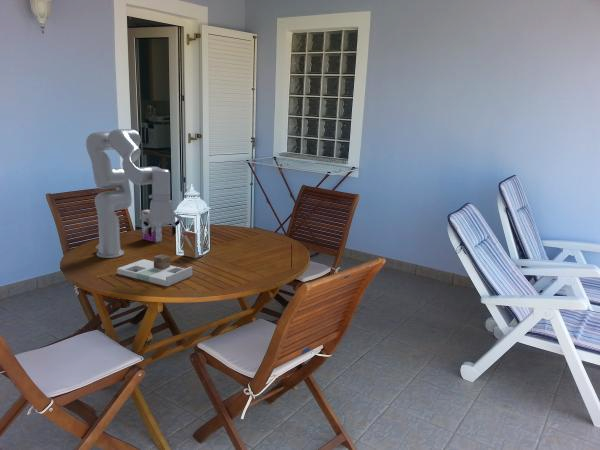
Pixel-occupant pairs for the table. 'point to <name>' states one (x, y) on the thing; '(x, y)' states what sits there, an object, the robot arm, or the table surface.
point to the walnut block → (161, 261)
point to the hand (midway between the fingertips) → (162, 235)
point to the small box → (191, 244)
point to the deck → (155, 272)
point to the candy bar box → (155, 229)
